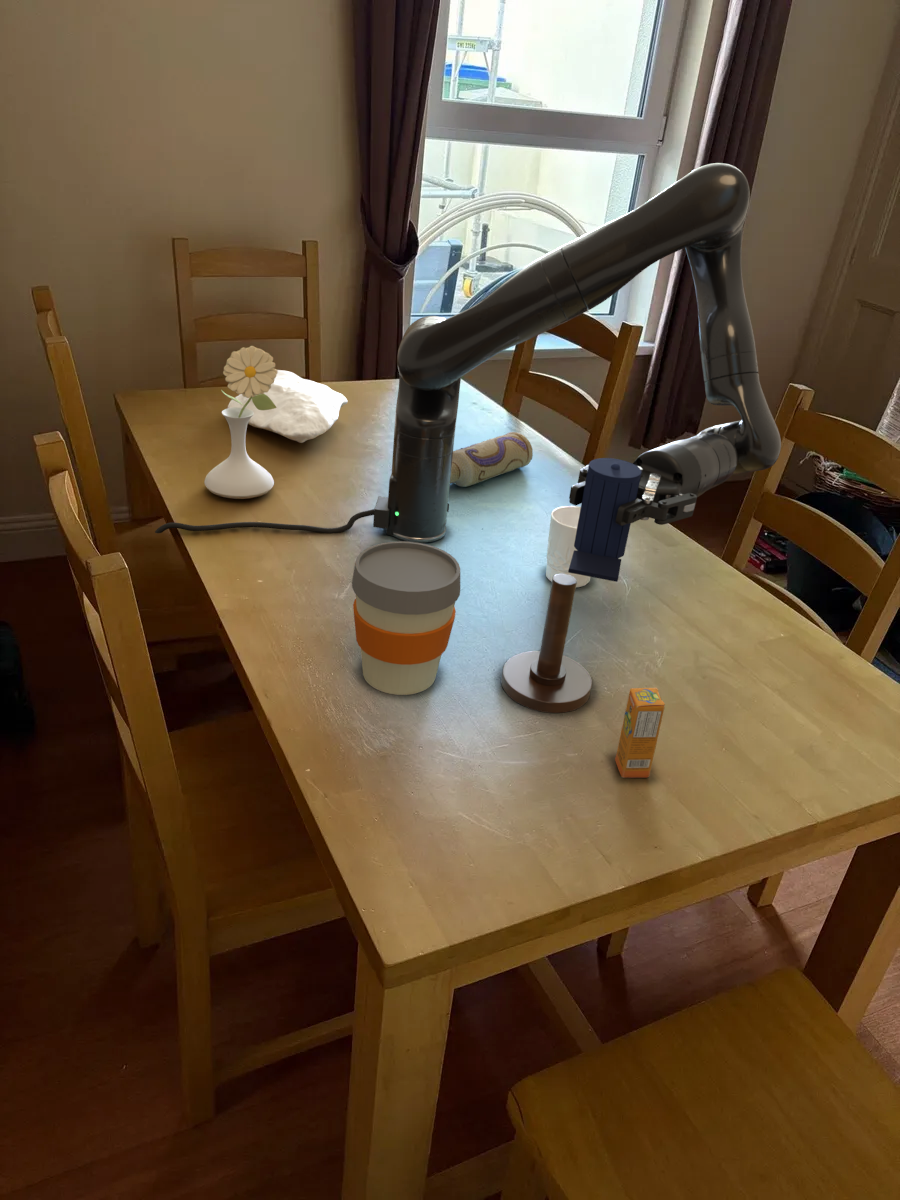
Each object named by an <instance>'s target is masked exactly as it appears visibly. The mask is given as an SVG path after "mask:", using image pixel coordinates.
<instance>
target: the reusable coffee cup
mask: <svg viewBox="0 0 900 1200" xmlns="http://www.w3.org/2000/svg"><path fill="white" fill-rule="evenodd" d="M351 588H352V591H353V593H354V595H355V599H354V601H353V604H352V609H353V621H354V629H355V630H354V631H355V640H356V643H357V645H358V647H359V648H360V655H361V666H362V667H361V668H362V676H363V678H364V680H365V681H366V683H367V684H368V685H370V686H371V688H374V689H375V690H377V691H380V692H382V693H386V694H390V695H396V696H408V695H414V694H417V693H421V692H424V691H426V690H428V689H429V688H430V687H431V686H432V685H433V684H434V683H435V680H436V678H437V673H438V670H439V666H440V662H441V660H442V655H443V653H444V652H446V650H447V648H448V644H449V641H450V639H451V634H452V631H453V626H454V623H455V619H456V611H457V610H456V606H455V605H456V602H457V601H458V599H459V597H460V596H461V566H460V563H459V562H458V560H457V559H456V558H455V557H454V556H453V555H452V554H450V553H448V552H447V551H445V550H443V549H442V548H439V547H436V546H433V545H430V544H427V543H418V542H409V541H405V540H401V541H400V540H397V541H388V542H381V543H378V544H374V545H371V546H369V547H367V548H365V549H363V550H362V551H360V552H359V554H357V556H356V559H355V561H354V568H353V574H352V578H351Z"/></svg>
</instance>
